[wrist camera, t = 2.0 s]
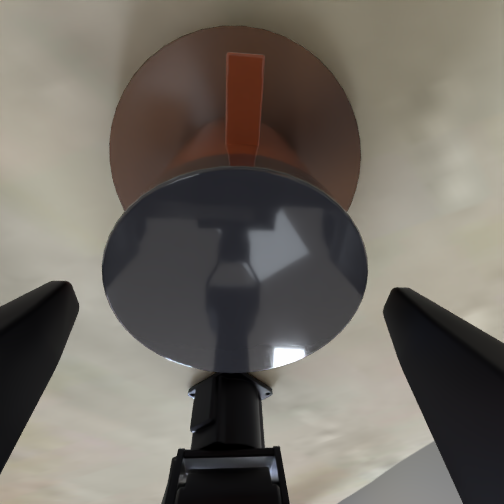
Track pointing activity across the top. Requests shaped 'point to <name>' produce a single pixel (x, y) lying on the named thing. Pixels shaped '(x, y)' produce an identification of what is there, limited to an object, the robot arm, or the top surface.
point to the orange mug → (235, 247)
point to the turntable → (214, 107)
